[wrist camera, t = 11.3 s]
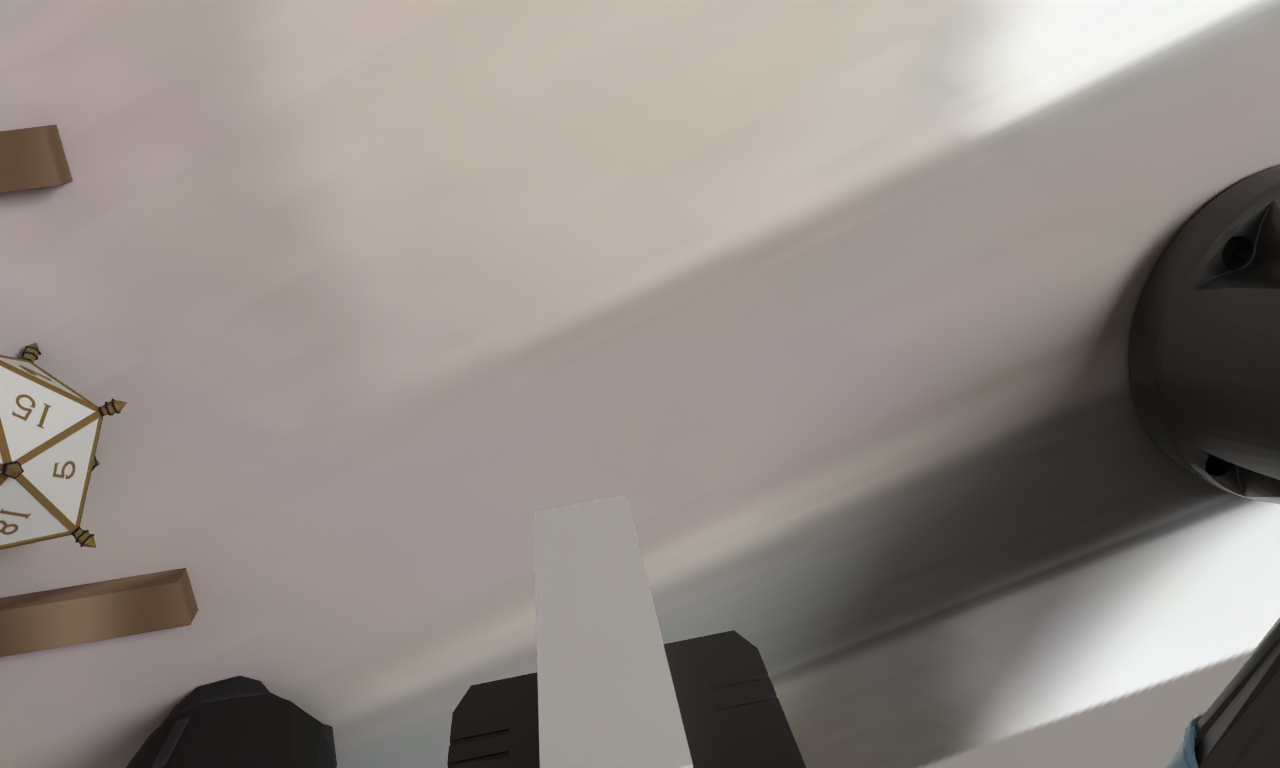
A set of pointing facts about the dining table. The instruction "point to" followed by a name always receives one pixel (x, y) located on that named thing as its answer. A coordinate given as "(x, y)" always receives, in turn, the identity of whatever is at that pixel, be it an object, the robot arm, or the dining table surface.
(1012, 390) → the dining table surface
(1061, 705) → the dining table surface
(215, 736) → the portable speaker
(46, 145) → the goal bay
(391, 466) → the dining table surface
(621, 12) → the dining table surface
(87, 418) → the game die
